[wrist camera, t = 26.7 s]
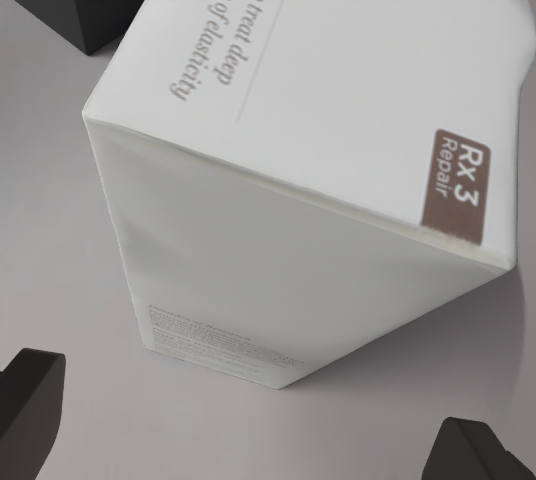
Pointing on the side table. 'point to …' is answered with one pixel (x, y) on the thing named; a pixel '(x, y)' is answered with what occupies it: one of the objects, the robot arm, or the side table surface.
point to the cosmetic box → (308, 170)
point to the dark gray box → (85, 19)
